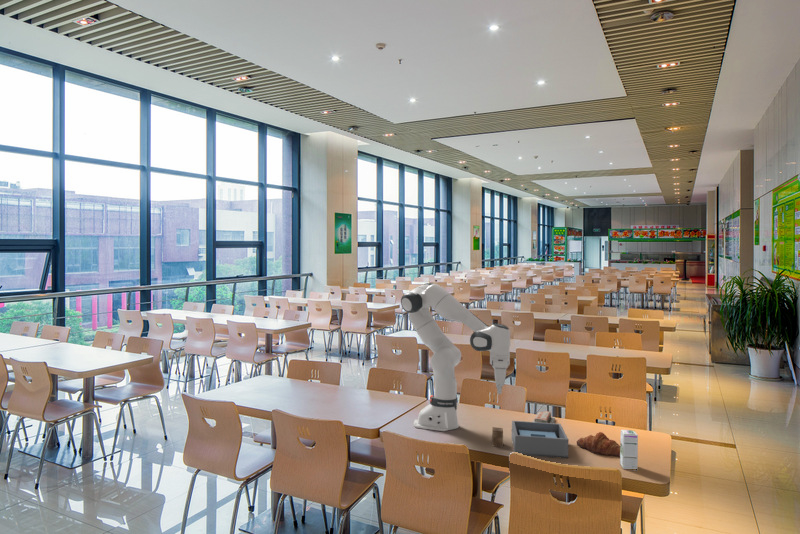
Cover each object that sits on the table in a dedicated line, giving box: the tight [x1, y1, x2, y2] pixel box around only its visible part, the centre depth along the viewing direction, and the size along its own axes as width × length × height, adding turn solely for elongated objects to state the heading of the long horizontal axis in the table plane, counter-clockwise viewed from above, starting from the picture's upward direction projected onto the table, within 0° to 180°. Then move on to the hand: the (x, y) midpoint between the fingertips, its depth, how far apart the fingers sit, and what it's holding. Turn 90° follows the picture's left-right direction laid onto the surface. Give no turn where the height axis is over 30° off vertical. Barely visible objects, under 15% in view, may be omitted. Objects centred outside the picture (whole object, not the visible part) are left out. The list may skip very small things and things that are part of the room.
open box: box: [511, 420, 569, 459], centre depth 240 cm, size 22×22×8 cm
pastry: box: [576, 431, 620, 457], centre depth 238 cm, size 17×15×8 cm
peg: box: [491, 426, 504, 447], centre depth 242 cm, size 4×4×7 cm
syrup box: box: [619, 429, 639, 470], centre depth 219 cm, size 6×6×14 cm
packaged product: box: [532, 410, 556, 423], centre depth 276 cm, size 18×5×10 cm
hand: (498, 391), depth 242 cm, fingers open, 8 cm apart
